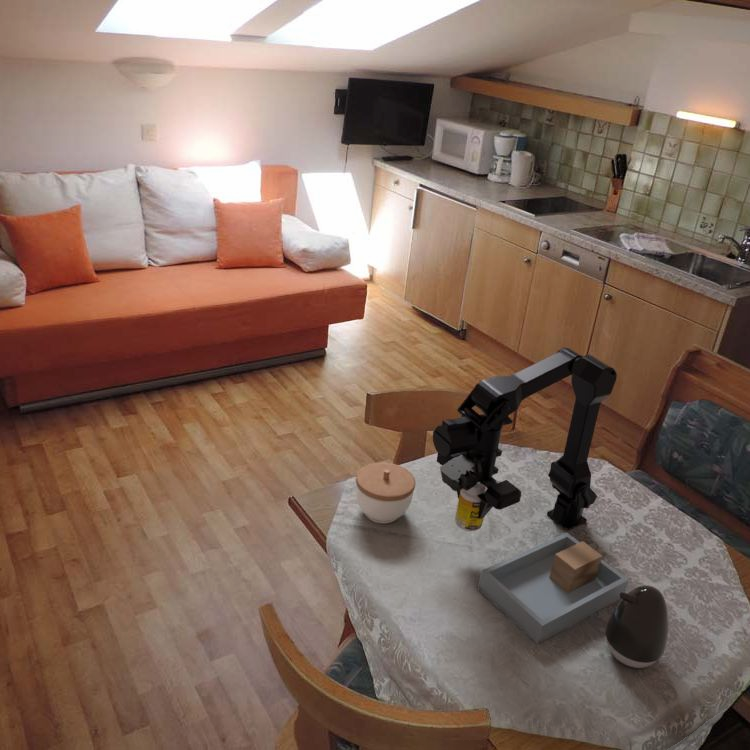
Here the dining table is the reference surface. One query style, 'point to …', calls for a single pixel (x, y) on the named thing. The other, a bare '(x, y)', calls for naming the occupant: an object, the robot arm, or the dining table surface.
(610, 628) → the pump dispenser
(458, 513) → the supplement bottle
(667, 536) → the dining table surface
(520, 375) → the robot arm
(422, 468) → the dining table surface
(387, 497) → the lidded bowl
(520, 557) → the tray
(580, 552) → the walnut box
